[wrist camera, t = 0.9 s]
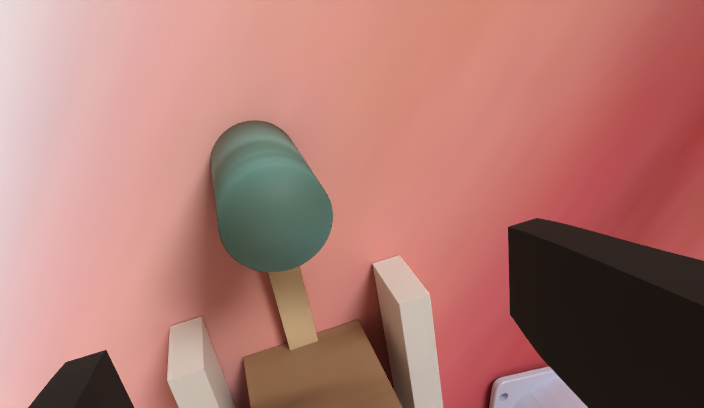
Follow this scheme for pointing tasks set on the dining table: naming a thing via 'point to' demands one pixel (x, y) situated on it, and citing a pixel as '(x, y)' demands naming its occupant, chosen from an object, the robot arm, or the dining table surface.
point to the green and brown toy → (289, 273)
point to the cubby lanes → (400, 334)
